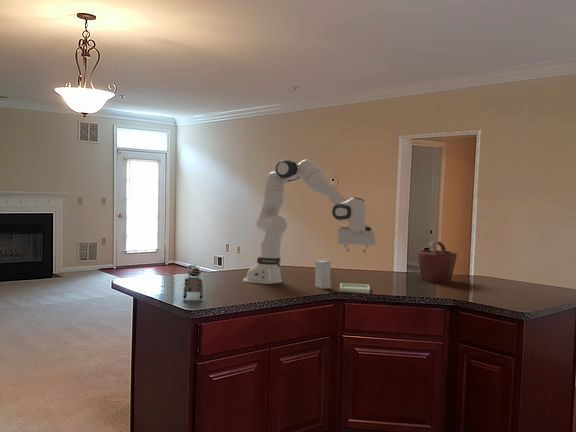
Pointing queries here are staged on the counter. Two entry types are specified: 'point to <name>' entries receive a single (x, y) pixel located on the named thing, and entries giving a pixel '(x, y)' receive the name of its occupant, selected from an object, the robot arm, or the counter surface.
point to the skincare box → (322, 274)
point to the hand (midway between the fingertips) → (356, 252)
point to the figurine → (193, 281)
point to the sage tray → (354, 288)
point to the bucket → (436, 264)
